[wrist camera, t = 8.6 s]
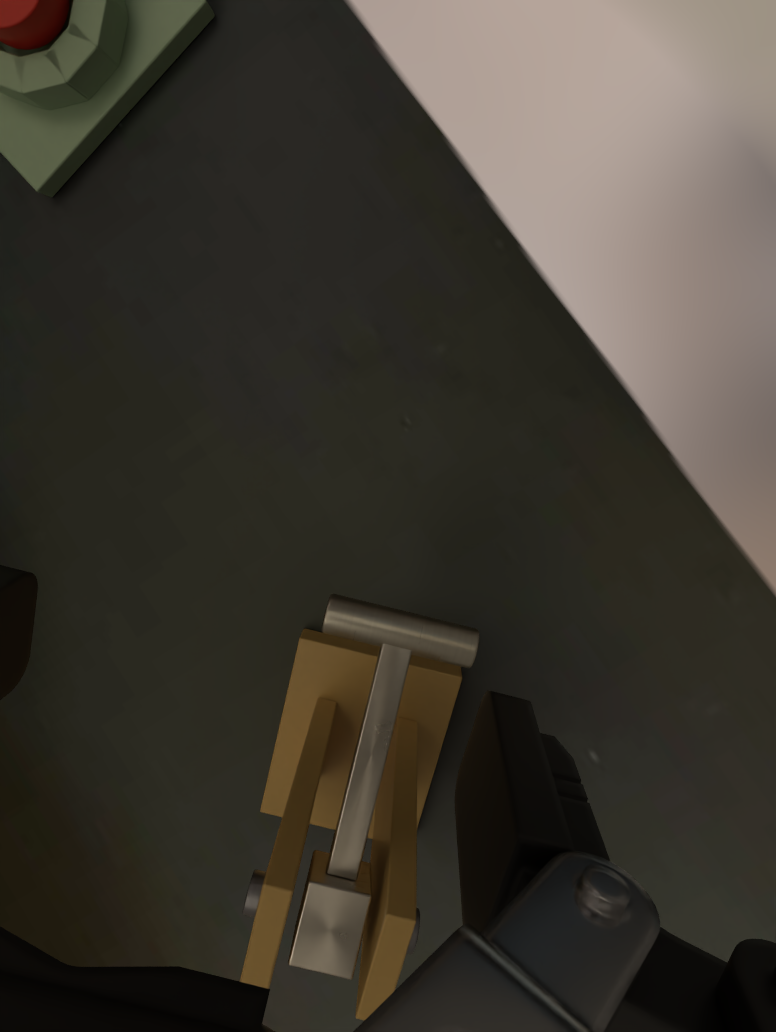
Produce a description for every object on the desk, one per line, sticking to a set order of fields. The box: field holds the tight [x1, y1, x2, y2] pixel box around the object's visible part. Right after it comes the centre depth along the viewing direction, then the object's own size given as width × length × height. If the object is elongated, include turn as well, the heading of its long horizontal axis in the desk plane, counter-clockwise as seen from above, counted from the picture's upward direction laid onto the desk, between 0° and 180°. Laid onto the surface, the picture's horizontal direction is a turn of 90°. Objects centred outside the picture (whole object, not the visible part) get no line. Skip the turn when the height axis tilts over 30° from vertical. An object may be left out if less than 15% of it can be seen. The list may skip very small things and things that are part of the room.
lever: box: [288, 594, 479, 980], centre depth 23 cm, size 12×6×2 cm, turn 166°
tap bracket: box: [240, 629, 462, 1020], centre depth 27 cm, size 10×8×13 cm
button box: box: [0, 0, 215, 197], centre depth 25 cm, size 10×8×3 cm
